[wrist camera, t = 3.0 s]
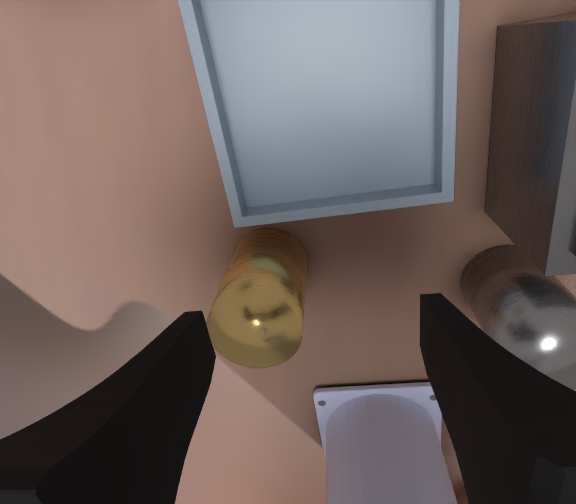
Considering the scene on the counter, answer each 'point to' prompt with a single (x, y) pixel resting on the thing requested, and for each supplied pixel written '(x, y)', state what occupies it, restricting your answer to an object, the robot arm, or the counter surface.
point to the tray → (327, 103)
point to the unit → (535, 141)
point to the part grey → (524, 310)
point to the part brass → (261, 301)
